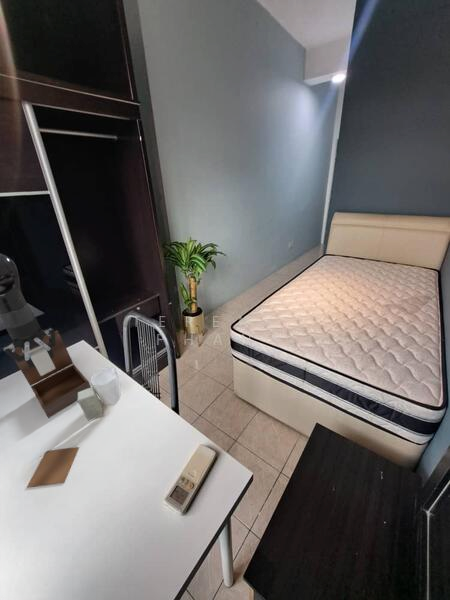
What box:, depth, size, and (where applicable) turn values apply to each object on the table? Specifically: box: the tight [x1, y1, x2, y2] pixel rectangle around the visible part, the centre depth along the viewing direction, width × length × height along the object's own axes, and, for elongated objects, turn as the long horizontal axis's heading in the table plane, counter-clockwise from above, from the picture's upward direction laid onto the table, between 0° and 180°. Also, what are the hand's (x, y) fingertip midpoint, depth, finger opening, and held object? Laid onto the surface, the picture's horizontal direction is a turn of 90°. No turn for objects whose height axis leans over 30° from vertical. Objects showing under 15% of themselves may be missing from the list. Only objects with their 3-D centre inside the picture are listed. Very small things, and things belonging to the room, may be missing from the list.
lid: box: [13, 330, 74, 387], centre depth 97 cm, size 16×16×5 cm
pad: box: [26, 446, 80, 488], centre depth 74 cm, size 10×10×1 cm
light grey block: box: [29, 346, 56, 376], centre depth 83 cm, size 4×4×8 cm
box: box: [76, 386, 105, 421], centre depth 86 cm, size 5×4×11 cm
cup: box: [90, 367, 123, 406], centre depth 92 cm, size 9×9×12 cm
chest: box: [30, 363, 92, 419], centre depth 96 cm, size 16×16×6 cm
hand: (42, 362), depth 83 cm, fingers closed on light grey block, 4 cm apart
